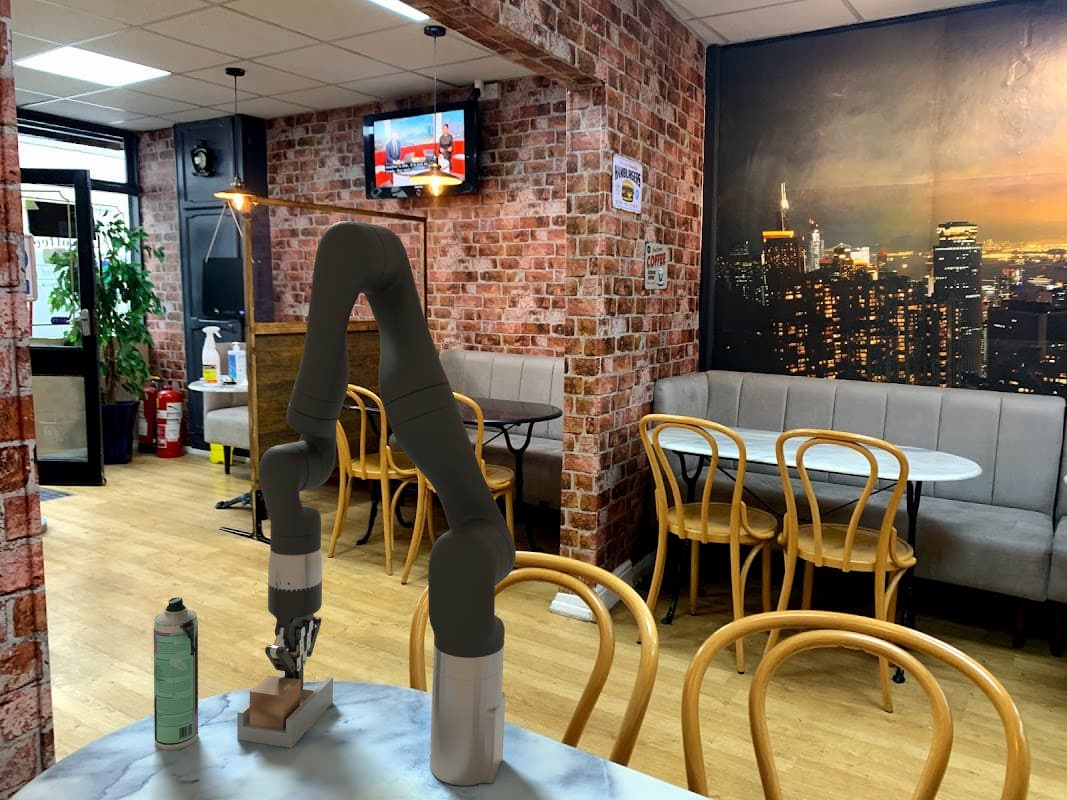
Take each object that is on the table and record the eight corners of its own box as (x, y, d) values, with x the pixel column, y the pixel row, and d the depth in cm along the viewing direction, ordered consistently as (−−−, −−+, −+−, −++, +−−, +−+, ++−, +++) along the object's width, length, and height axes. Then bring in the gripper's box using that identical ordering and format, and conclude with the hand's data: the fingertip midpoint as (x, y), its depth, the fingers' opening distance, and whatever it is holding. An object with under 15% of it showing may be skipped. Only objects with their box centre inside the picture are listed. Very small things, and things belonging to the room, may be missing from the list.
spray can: (205, 730, 111) (205, 593, 108) (184, 751, 105) (184, 608, 103) (168, 726, 111) (167, 590, 109) (146, 747, 106) (144, 605, 103)
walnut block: (300, 712, 113) (300, 679, 112) (282, 730, 108) (283, 696, 107) (268, 708, 114) (268, 675, 113) (249, 725, 109) (249, 691, 108)
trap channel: (332, 702, 120) (333, 677, 120) (291, 748, 107) (291, 720, 107) (283, 695, 121) (284, 670, 121) (237, 739, 109) (237, 712, 108)
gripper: (297, 597, 107) (295, 717, 109) (339, 566, 119) (337, 675, 121) (246, 590, 108) (246, 710, 110) (293, 561, 121) (292, 668, 123)
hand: (294, 691), depth 116 cm, fingers closed
